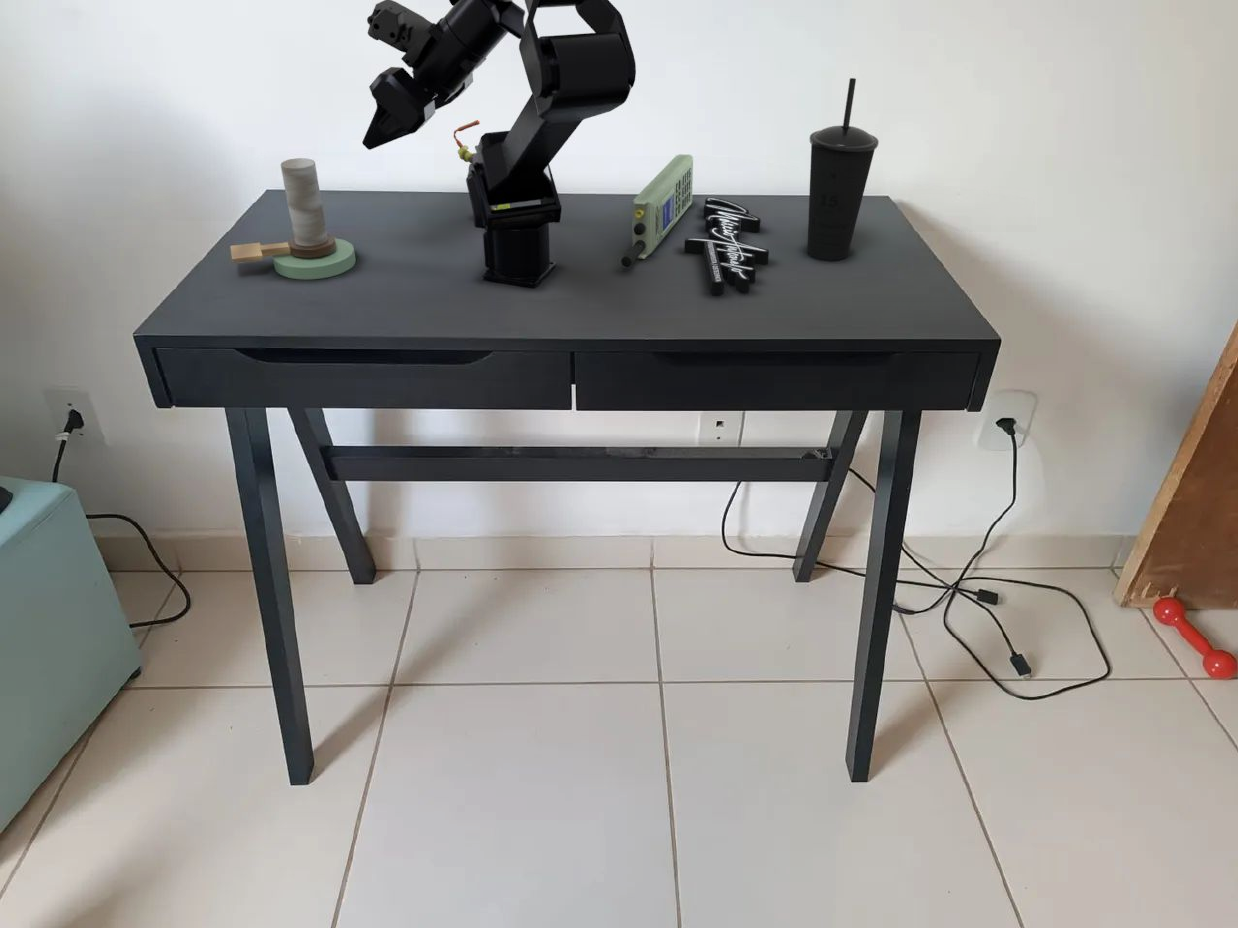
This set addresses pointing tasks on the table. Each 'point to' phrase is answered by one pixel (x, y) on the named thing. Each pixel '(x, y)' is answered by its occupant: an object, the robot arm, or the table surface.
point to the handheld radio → (660, 207)
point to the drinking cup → (837, 184)
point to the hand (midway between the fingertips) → (380, 135)
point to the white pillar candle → (296, 217)
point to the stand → (316, 263)
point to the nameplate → (728, 246)
